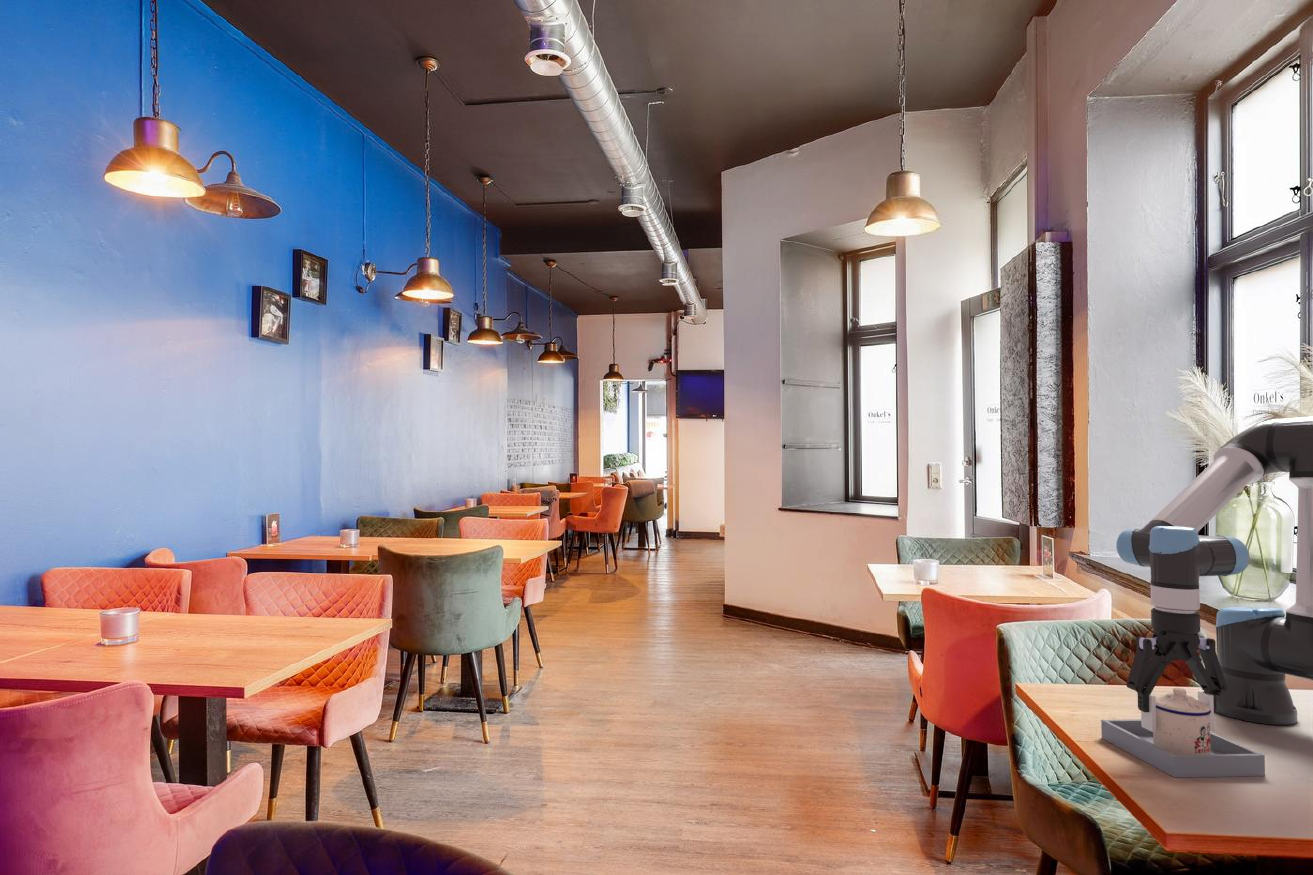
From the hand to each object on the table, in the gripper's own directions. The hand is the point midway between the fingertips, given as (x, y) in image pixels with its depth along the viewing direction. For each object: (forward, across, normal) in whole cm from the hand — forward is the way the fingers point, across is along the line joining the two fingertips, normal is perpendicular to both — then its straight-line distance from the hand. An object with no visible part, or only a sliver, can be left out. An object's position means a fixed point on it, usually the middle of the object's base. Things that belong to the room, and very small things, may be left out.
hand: (1177, 728), depth 136 cm
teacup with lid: (+4, -1, 0) cm, 4 cm away
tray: (+5, 0, 0) cm, 5 cm away
